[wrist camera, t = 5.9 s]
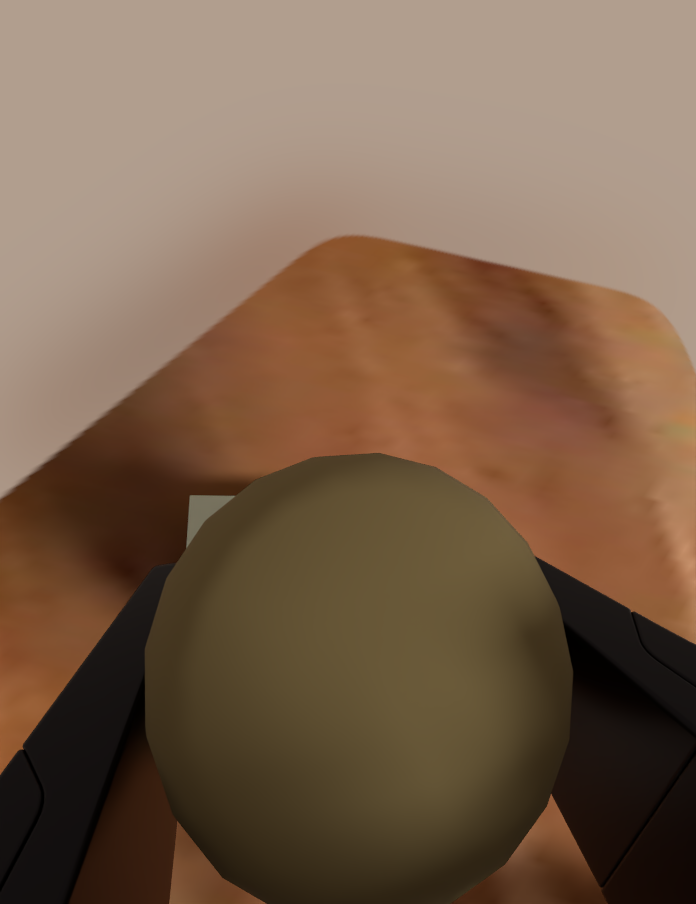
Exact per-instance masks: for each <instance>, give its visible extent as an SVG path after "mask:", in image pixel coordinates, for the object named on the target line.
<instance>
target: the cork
mask: <svg viewBox="0 0 696 904" xmlns="http://www.w3.org/2000/svg"><path fill="white" fill-rule="evenodd" d="M572 684H573V669H572V664H571V659H570V654H569V649H568V645H567V640H566V635H565V630H564V625H563V621H562V616H561V611H560V607H559V605H558V602H557V600H556V598H555V596H554V594H553V592H552V590H551V588H550V586H549V584H548V582H547V580H546V578H545V576H544V574H543V572H542V570H541V568H540V566H539V564H538V562H537V560H536V558H535V556H534V554H533V552H532V551H531V549H530V547H529V545H528V543H527V542H526V541H525V539H524V538H523V537H522V536H521V535H520V534H519V533H518V532H517V531H516V530H515V528H514V527H513V526H512V525H511V524H510V523H509V522H508V521H507V520H506V519H505V518H504V516H503V515H502V514H501V513H500V512H499V511H498V510H497V509H496V508H495V507H494V506H493V504H492V503H491V502H490V501H489V500H488V499H487V498H486V497H484V496H483V495H481V494H479V493H478V492H476V491H474V490H473V489H471V488H469V487H468V486H466V485H464V484H463V483H461V482H459V481H458V480H456V479H454V478H453V477H451V476H450V475H448V474H446V473H445V472H443V471H441V470H440V469H438V468H436V467H433V466H429V465H425V464H421V463H417V462H413V461H409V460H405V459H401V458H397V457H393V456H389V455H385V454H381V453H371V454H355V455H340V456H325V457H314V458H310V459H307V460H305V461H302V462H300V463H297V464H295V465H292V466H290V467H287V468H285V469H282V470H279V471H277V472H274V473H272V474H269V475H267V476H264V477H262V478H259V479H257V480H255V481H254V482H252V483H251V484H250V485H249V486H247V487H246V488H245V489H244V490H242V491H241V492H240V493H239V494H237V495H236V496H235V497H234V498H233V499H231V500H230V501H229V502H228V503H226V504H225V505H224V506H223V507H221V508H220V509H219V510H218V511H216V512H215V513H214V514H213V515H211V516H210V517H209V518H208V519H207V520H205V522H204V523H203V524H202V526H201V527H200V529H199V530H198V532H197V533H196V535H195V536H194V538H193V539H192V541H191V542H190V544H189V545H188V547H187V548H186V550H185V551H184V553H183V554H182V556H181V557H180V559H179V560H178V562H177V563H176V565H175V566H174V568H173V569H172V571H171V572H170V574H169V575H168V577H167V578H166V581H165V584H164V587H163V591H162V594H161V597H160V601H159V604H158V607H157V610H156V614H155V617H154V620H153V624H152V627H151V630H150V633H149V637H148V640H147V643H146V647H145V728H146V737H147V740H148V743H149V746H150V749H151V752H152V755H153V758H154V761H155V764H156V767H157V770H158V773H159V776H160V779H161V781H162V784H163V787H164V790H165V793H166V796H167V799H168V802H169V805H170V808H171V811H172V814H173V816H174V817H175V818H176V819H177V821H178V822H179V823H180V824H181V826H182V827H183V828H184V830H185V831H186V832H187V833H188V835H189V836H190V837H191V838H192V840H193V841H194V842H195V843H196V845H197V846H198V847H199V849H200V850H201V851H202V852H203V854H204V855H205V856H206V857H207V859H208V860H209V861H210V863H211V864H212V865H213V866H214V868H215V869H216V870H217V871H218V873H219V874H220V875H221V876H222V878H224V879H226V880H227V881H229V882H231V883H232V884H234V885H236V886H238V887H239V888H241V889H243V890H244V891H246V892H248V893H250V894H251V895H253V896H255V897H256V898H258V899H260V900H262V901H263V902H265V903H267V904H451V903H452V902H453V901H455V900H456V899H458V898H459V897H460V896H462V895H463V894H465V893H466V892H467V891H469V890H470V889H472V888H473V887H474V886H476V885H477V884H479V883H480V882H481V881H483V880H484V879H486V878H487V877H488V876H490V875H491V874H492V873H494V872H495V871H497V870H498V869H499V868H501V867H502V866H504V865H505V864H506V862H507V861H508V860H509V858H510V857H511V855H512V854H513V853H514V851H515V850H516V848H517V847H518V846H519V844H520V843H521V841H522V840H523V839H524V837H525V836H526V834H527V833H528V832H529V830H530V829H531V828H532V826H533V825H534V823H535V822H536V821H537V819H538V818H539V816H540V815H541V814H542V812H543V811H544V809H545V808H546V807H547V804H548V801H549V798H550V795H551V792H552V789H553V786H554V783H555V780H556V777H557V774H558V772H559V769H560V766H561V763H562V760H563V757H564V754H565V751H566V748H567V745H568V742H569V736H570V719H571V701H572Z"/></svg>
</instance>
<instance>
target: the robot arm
mask: <svg viewBox="0 0 696 904" xmlns="http://www.w3.org/2000/svg"><path fill="white" fill-rule="evenodd" d="M535 558H536V560H537V562H538V564H539V566H540V568H541V570H542V572H543V574H544V576H545V578H546V580H547V582H548V584H549V586H550V588H551V590H552V592H553V594H554V596H555V598H556V600H557V602H558V605H559V607H560V611H561V616H562V621H563V625H564V630H565V635H566V640H567V645H568V649H569V654H570V659H571V664H572V669H573V684H572V701H571V719H570V736H569V742H568V745H567V748H566V751H565V754H564V757H563V760H562V763H561V766H560V769H559V772H558V774H557V777H556V780H555V783H554V786H553V789H552V792H551V794H552V796H553V798H554V800H555V802H556V804H557V806H558V808H559V810H560V812H561V813H562V815H563V817H564V819H565V821H566V823H567V825H568V827H569V829H570V831H571V833H572V835H573V837H574V839H575V840H576V842H577V844H578V846H579V848H580V850H581V852H582V854H583V856H584V858H585V860H586V862H587V864H588V866H589V867H590V869H591V871H592V873H593V875H594V877H595V879H596V881H597V883H598V885H599V886H600V887H602V889H601V891H602V893H603V895H604V897H605V899H606V901H607V903H608V904H696V644H694V643H692V642H690V641H688V640H686V639H684V638H682V637H680V636H679V635H677V634H675V633H673V632H671V631H669V630H667V629H665V628H664V627H662V626H660V625H658V624H656V623H654V622H653V621H651V620H649V619H647V618H645V617H644V616H642V615H640V614H638V613H636V612H631V611H630V609H629V608H627V607H625V606H624V605H622V604H620V603H618V602H616V601H615V600H613V599H611V598H609V597H607V596H606V595H604V594H602V593H600V592H598V591H597V590H595V589H593V588H591V587H589V586H588V585H586V584H584V583H582V582H580V581H579V580H577V579H575V578H573V577H572V576H570V575H568V574H566V573H564V572H563V571H561V570H559V569H557V568H555V567H554V566H552V565H550V564H548V563H546V562H545V561H543V560H541V559H539V558H537V557H536V556H535ZM175 565H176V563H169V564H163V565H157V566H155V567H153V568H152V570H151V571H150V572H149V574H148V575H147V576H146V578H145V579H144V580H143V582H142V583H141V585H140V586H139V587H138V589H137V590H136V591H135V593H134V594H133V595H132V597H131V598H130V599H129V601H128V602H127V604H126V605H125V606H124V608H123V609H122V610H121V612H120V613H119V614H118V616H117V617H116V619H115V620H114V621H113V623H112V624H111V625H110V627H109V628H108V629H107V631H106V632H105V634H104V635H103V636H102V638H101V639H100V640H99V642H98V643H97V644H96V646H95V647H94V649H93V650H92V651H91V653H90V654H89V655H88V657H87V658H86V659H85V661H84V662H83V664H82V665H81V666H80V668H79V669H78V670H77V672H76V673H75V674H74V676H73V677H72V678H71V680H70V681H69V683H68V684H67V685H66V687H65V688H64V689H63V691H62V692H61V693H60V695H59V696H58V698H57V699H56V700H55V702H54V703H53V704H52V706H51V707H50V708H49V710H48V711H47V713H46V714H45V715H44V717H43V718H42V719H41V721H40V722H39V723H38V725H37V726H36V728H35V729H34V730H33V732H32V733H31V734H30V736H29V737H28V738H27V740H26V741H25V742H24V744H23V749H24V750H19V751H18V752H17V753H16V754H15V756H14V757H13V758H12V760H11V761H10V763H9V764H8V765H7V767H6V768H5V769H4V771H3V772H2V773H1V775H0V904H169V899H170V889H171V879H172V869H173V859H174V849H175V839H176V829H177V819H176V818H175V817H174V816H173V814H172V811H171V808H170V805H169V802H168V799H167V796H166V793H165V790H164V787H163V784H162V781H161V779H160V776H159V773H158V770H157V767H156V764H155V761H154V758H153V755H152V752H151V749H150V746H149V743H148V740H147V737H146V728H145V647H146V643H147V640H148V637H149V633H150V630H151V627H152V624H153V620H154V617H155V614H156V610H157V607H158V604H159V601H160V597H161V594H162V591H163V587H164V584H165V581H166V578H167V577H168V575H169V574H170V572H171V571H172V569H173V568H174V566H175Z"/></svg>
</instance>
